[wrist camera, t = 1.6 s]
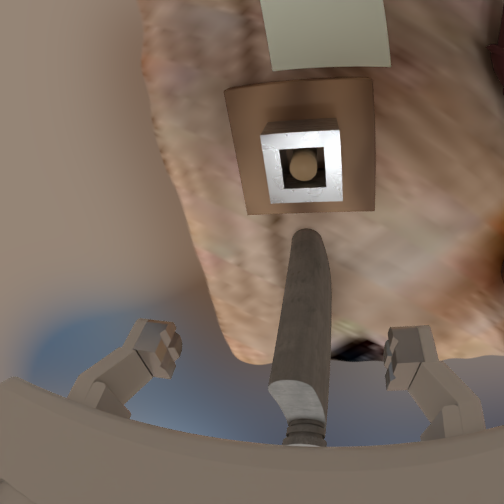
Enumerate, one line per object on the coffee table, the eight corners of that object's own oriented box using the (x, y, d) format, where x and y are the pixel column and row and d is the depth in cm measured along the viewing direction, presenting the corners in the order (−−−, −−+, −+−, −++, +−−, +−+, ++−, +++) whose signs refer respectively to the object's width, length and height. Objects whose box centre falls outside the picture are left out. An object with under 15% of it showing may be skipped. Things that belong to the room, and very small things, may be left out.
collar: (336, 118, 23) (339, 130, 20) (339, 179, 26) (342, 201, 23) (267, 122, 24) (260, 135, 21) (276, 182, 28) (270, 203, 25)
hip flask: (290, 229, 33) (257, 413, 17) (329, 227, 32) (325, 415, 16) (304, 328, 42) (286, 471, 26) (334, 328, 41) (326, 473, 25)
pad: (374, -38, 15) (375, -39, 15) (389, 66, 21) (391, 67, 21) (254, -32, 18) (253, -33, 17) (273, 71, 23) (272, 71, 23)
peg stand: (368, 77, 22) (382, 85, 17) (371, 201, 29) (381, 235, 24) (229, 87, 25) (208, 99, 20) (251, 205, 32) (238, 238, 27)
